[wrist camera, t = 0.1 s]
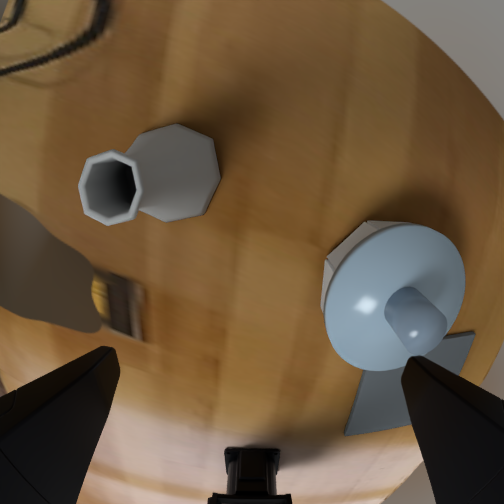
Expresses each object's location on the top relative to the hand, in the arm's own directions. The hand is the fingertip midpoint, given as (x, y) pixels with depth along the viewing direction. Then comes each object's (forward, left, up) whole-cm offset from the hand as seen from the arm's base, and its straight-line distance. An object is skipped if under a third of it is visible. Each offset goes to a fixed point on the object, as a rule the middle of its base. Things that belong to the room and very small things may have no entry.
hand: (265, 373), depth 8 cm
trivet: (-16, -17, -15) cm, 27 cm away
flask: (+5, +6, -15) cm, 17 cm away
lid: (-3, -10, -11) cm, 15 cm away
